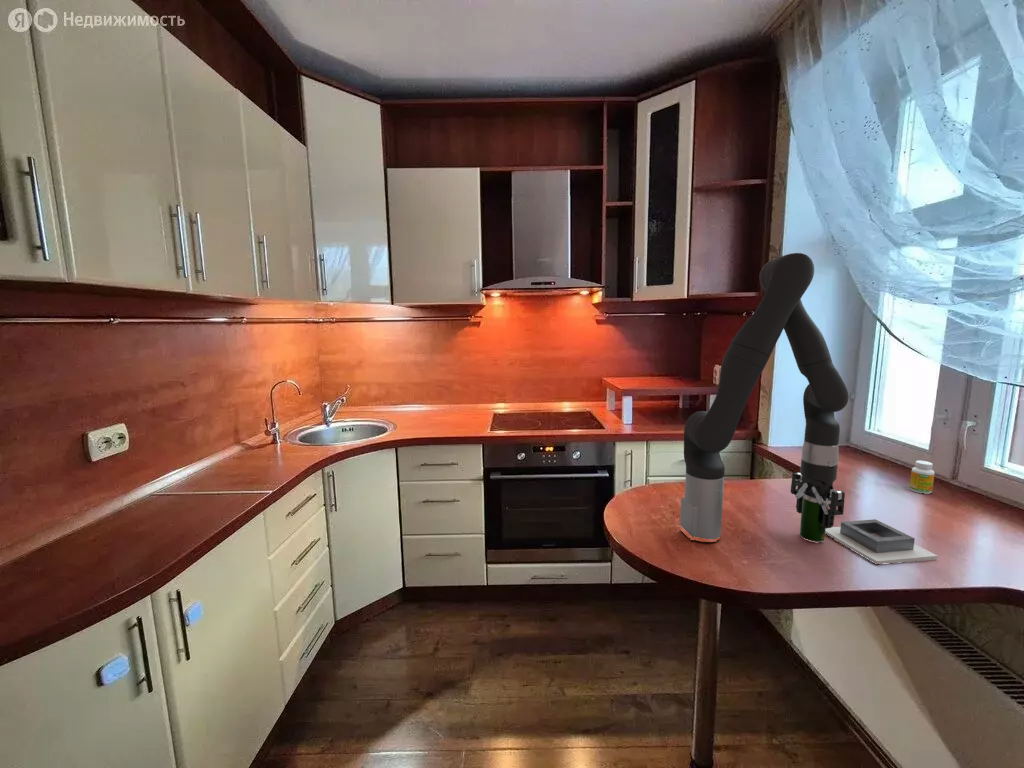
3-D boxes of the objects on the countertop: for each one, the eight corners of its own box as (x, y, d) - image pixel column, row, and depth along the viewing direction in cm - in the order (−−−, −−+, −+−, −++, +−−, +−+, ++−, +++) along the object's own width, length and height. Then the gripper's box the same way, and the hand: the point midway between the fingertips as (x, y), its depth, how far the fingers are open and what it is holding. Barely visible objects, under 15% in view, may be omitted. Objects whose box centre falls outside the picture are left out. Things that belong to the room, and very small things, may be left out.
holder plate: (876, 565, 100) (876, 561, 99) (819, 531, 115) (820, 528, 115) (937, 559, 101) (937, 555, 101) (873, 527, 117) (873, 523, 117)
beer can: (800, 540, 111) (804, 496, 109) (798, 531, 115) (802, 489, 114) (825, 545, 108) (830, 501, 106) (823, 536, 113) (827, 493, 111)
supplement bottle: (916, 493, 138) (919, 464, 136) (905, 487, 143) (908, 459, 141) (936, 495, 137) (940, 465, 135) (924, 488, 142) (928, 460, 140)
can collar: (876, 553, 103) (877, 541, 102) (840, 532, 112) (841, 522, 112) (913, 549, 104) (914, 538, 103) (874, 529, 114) (875, 519, 113)
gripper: (784, 451, 115) (780, 508, 118) (829, 470, 101) (823, 534, 103) (810, 450, 116) (805, 506, 118) (858, 468, 102) (851, 532, 104)
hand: (813, 519), depth 111 cm, fingers open, 8 cm apart
